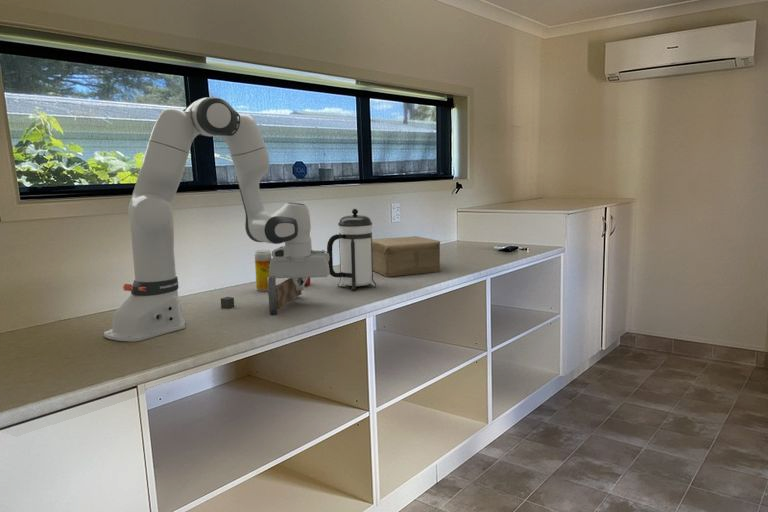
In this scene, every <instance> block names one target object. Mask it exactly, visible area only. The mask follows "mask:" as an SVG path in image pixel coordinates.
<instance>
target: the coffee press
mask: <svg viewBox="0 0 768 512" xmlns="http://www.w3.org/2000/svg"><path fill="white" fill-rule="evenodd" d="M358 213H359V210H358V209H357V208H352V211H351V214H352V215H345V216H343V217H341V218H340V219H339V221H338V223H337V224H338V227H339V228H338V229H339V233H338V234H333V235H332V236H331V237H329V239H328V241H327V244H326V251H327V252H328V253H329V256H330V260H329V262H328V264H329V271H330V273H329V275H330V276H331V277H333V278H339V282H338V283H337V287H338V288H341V287H342V286H343V285H345V286H349V287H351V291H352V292H353V291H354V292H355V291H357V287H363V286H367V285H368V286H369V285H370V286H371V287H372V288H376V286H377V284H376V282H375V281H374V271H373V256H372V239H373V232H372V229H373V222H372V220H371V218H370V217H369V216H366V215H359V214H358ZM336 240H338V242H339V245H338V247H339V272H336V271H335V270H334V266H333V265H334V264H333V263H334V260H333V246H334V242H336ZM372 282H373V284H374V285H375V286H374V285H373V284H371V283H372ZM340 283H342V284H341V285H339V284H340Z"/></svg>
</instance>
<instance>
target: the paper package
mask: <svg viewBox="0 0 768 512" xmlns="http://www.w3.org/2000/svg"><path fill="white" fill-rule="evenodd" d="M440 247H441V240H438V239H433V238H427V237H421V236H418V235H417V236H415V235H414V236H403V237H402V236H401V237H384V238H372V256H373V272H374V273H377V274H380V275H382V276H385V277H387V278H388V277H389V278H390V277H399V276H408V275H409V276H410V275H421V274H429V273H440V272H441V270H440V269H441V268H440V266H441V265H440V264H441V262H440V259H441V255H440V254H441V248H440Z"/></svg>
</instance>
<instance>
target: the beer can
mask: <svg viewBox="0 0 768 512" xmlns="http://www.w3.org/2000/svg"><path fill="white" fill-rule="evenodd" d="M272 258H273V257H272V251H271V250H269V249H258V250H256V251H255V253H254V262H255V263H254V265H255V283H256V284H255V285H256V290H257V291H259V292H268V277H269V276H270V275H269V266H270V261H271V259H272Z"/></svg>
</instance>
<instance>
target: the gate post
mask: <svg viewBox="0 0 768 512" xmlns="http://www.w3.org/2000/svg"><path fill="white" fill-rule="evenodd" d="M276 279H277V278H275V276H269V277H268V291H267V292H268V294H267V296H268V309H269V311H268V312H269V315H270V316H276V315H278V309H277V299H276V286H277V284H276V283H277V282H276V281H277V280H276Z"/></svg>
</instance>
